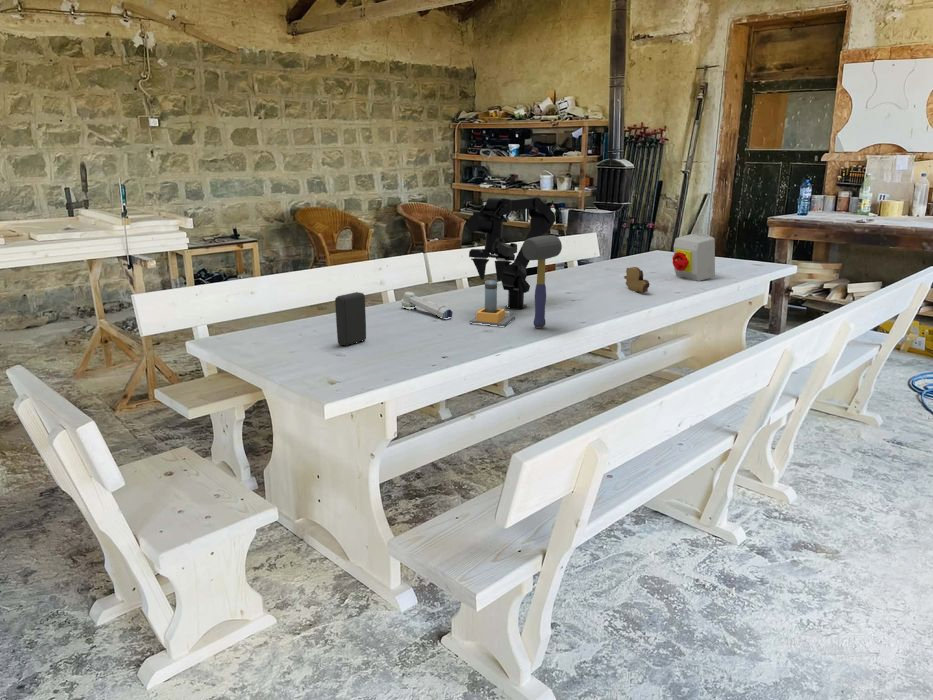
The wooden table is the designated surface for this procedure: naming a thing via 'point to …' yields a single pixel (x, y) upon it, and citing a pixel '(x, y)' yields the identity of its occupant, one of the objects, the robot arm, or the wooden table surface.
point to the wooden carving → (636, 280)
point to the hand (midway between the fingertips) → (490, 280)
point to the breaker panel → (493, 317)
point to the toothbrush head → (425, 305)
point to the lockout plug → (491, 296)
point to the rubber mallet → (541, 269)
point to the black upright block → (350, 318)
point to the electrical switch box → (694, 256)
